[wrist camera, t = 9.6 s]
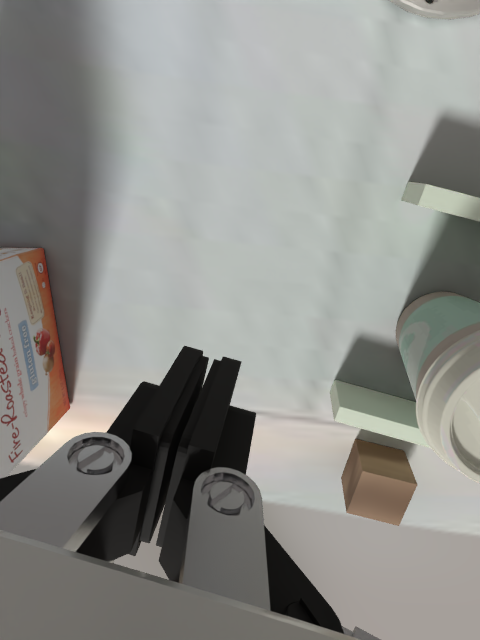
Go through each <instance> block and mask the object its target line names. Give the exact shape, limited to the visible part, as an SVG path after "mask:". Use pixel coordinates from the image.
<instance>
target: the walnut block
mask: <svg viewBox="0 0 480 640" xmlns="http://www.w3.org/2000/svg"><path fill="white" fill-rule="evenodd" d="M341 479H342V485H343V492H344V499H345V505H346V512H347V513H350V514H354V515H358V516H362V517H366V518H370V519H374V520H378V521H382V522H386V523H389V524H393V525H397V526H399V524H400V522H401V520H402V518H403V515H404V513H405V511H406V509H407V506H408V504H409V502H410V500H411V498H412V495H413V493H414V491H415V489H416V486H417V483H416V480H415V477H414V475H413V472H412V470H411V467H410V465H409V462H408V459H407V457H406V454H405V452H404V451H403V450H399V449H395V448H391V447H387V446H383V445H379V444H375V443H371V442H366V441H362V440H358V439H355V441H354V444H353V447H352V449H351V452H350V455H349V458H348V460H347V463H346V466H345V469H344V471H343V474H342V477H341Z"/></svg>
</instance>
